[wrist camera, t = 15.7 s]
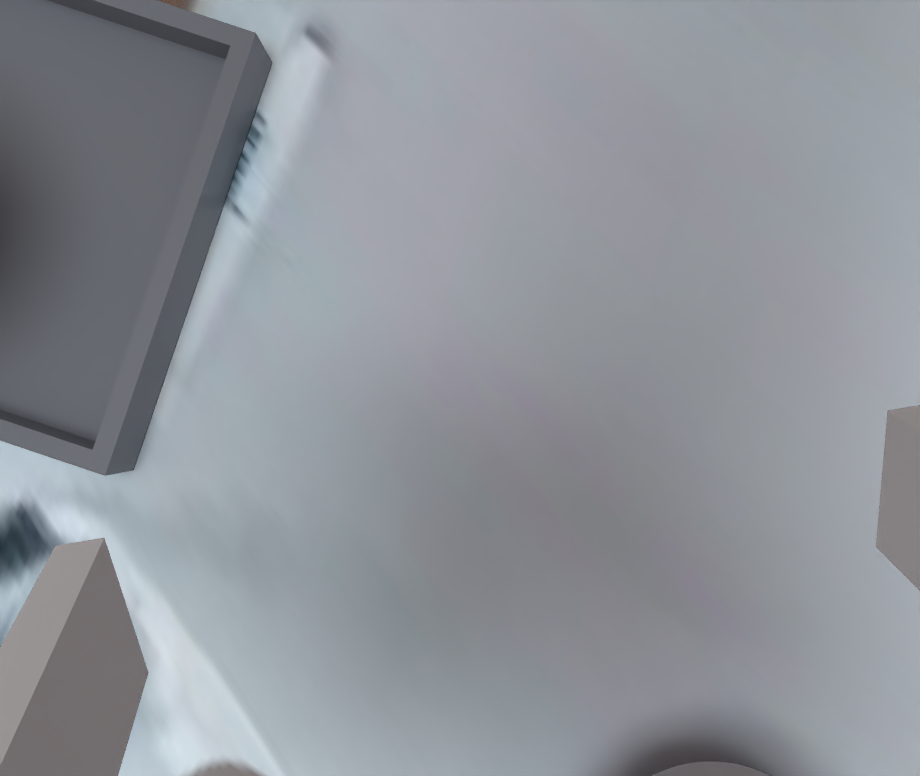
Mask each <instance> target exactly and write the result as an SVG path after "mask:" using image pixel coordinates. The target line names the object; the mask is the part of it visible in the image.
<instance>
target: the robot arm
mask: <svg viewBox="0 0 920 776" xmlns="http://www.w3.org/2000/svg"><path fill="white" fill-rule="evenodd" d="M876 547H877V548H878V549H879V550H880V551H881V552H882V553H883V554H884V555H885V556H886V557H887V558H888V559H889V560H890V561H891V562H892V563H893V564H894V565H895V566H896V567H897V568H898V569H899V570H900V571H901V572H902V573H903V574H904V575H905V576H906V577H907V578H908V579H909V580H910V581H911V582H912V583H913V584H914V585H915V586H916V587H917V588H918V589H919V590H920V405H919V406H913V407H907V408H900V409H894V410H888V414H887V425H886V437H885V448H884V460H883V471H882V483H881V494H880V506H879V517H878V529H877V540H876ZM147 676H148V670H147V667H146V664H145V661H144V658H143V655H142V651H141V648H140V645H139V642H138V639H137V636H136V633H135V630H134V627H133V624H132V621H131V618H130V615H129V612H128V609H127V606H126V603H125V600H124V597H123V594H122V590H121V587H120V584H119V581H118V578H117V575H116V572H115V569H114V566H113V563H112V560H111V557H110V554H109V551H108V548H107V545H106V542H105V539H104V538H101V539H94V540H88V541H82V542H76V543H70V544H64V545H58V546H55V548H54V550H53V552H52V553H51V555H50V557H49V559H48V561H47V563H46V564H45V566H44V568H43V570H42V572H41V574H40V576H39V577H38V579H37V581H36V583H35V585H34V587H33V588H32V590H31V592H30V594H29V596H28V598H27V600H26V601H25V603H24V605H23V607H22V609H21V611H20V612H19V614H18V616H17V618H16V620H15V622H14V624H13V625H12V627H11V629H10V631H9V633H8V635H7V636H6V638H5V640H4V642H3V644H2V646H1V648H0V776H118V774H119V770H120V767H121V763H122V760H123V757H124V753H125V750H126V747H127V743H128V740H129V736H130V733H131V730H132V726H133V723H134V720H135V716H136V713H137V709H138V706H139V703H140V699H141V696H142V693H143V689H144V686H145V682H146V679H147Z"/></svg>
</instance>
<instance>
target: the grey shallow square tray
mask: <svg viewBox="0 0 920 776" xmlns="http://www.w3.org/2000/svg"><path fill="white" fill-rule="evenodd" d="M271 64H272V61H271V59H270V58H269V56H268V54H267V52H266V50H265V49H264V47H263V45H262V43H261V41H260V40H259V38H258V36H257V34H256V33H254V32H251V31H248V30H245V29H242V28H239V27H236V26H233V25H230V24H227V23H224V22H221V21H218V20H215V19H212V18H209V17H206V16H203V15H200V14H197V13H194V12H191V11H187V10H184V9H181V8H178V7H175V6H172V5H169V4H166V3H163V2H160V1H157V0H0V440H1V441H4V442H7V443H10V444H13V445H16V446H19V447H22V448H25V449H28V450H31V451H34V452H37V453H39V454H42V455H45V456H48V457H51V458H54V459H57V460H60V461H63V462H66V463H69V464H72V465H75V466H78V467H81V468H84V469H87V470H90V471H93V472H96V473H99V474H102V475H110V474H116V473H121V472H126V471H131V470H134V467H135V464H136V461H137V458H138V455H139V452H140V449H141V446H142V443H143V440H144V437H145V434H146V431H147V428H148V426H149V423H150V420H151V417H152V414H153V411H154V408H155V405H156V402H157V399H158V396H159V393H160V390H161V387H162V384H163V381H164V379H165V376H166V373H167V370H168V367H169V364H170V361H171V358H172V355H173V352H174V349H175V346H176V343H177V340H178V337H179V334H180V332H181V329H182V326H183V323H184V320H185V317H186V314H187V311H188V308H189V305H190V302H191V299H192V296H193V293H194V290H195V287H196V285H197V282H198V279H199V276H200V273H201V270H202V267H203V264H204V261H205V258H206V255H207V252H208V249H209V246H210V243H211V240H212V238H213V235H214V232H215V229H216V226H217V223H218V220H219V217H220V214H221V211H222V208H223V205H224V202H225V199H226V196H227V193H228V191H229V188H230V185H231V182H232V179H233V176H234V173H235V170H236V167H237V164H238V161H239V158H240V155H241V152H242V149H243V146H244V144H245V141H246V138H247V135H248V132H249V129H250V126H251V123H252V120H253V117H254V114H255V111H256V108H257V105H258V102H259V99H260V97H261V94H262V91H263V88H264V85H265V82H266V79H267V76H268V73H269V70H270V67H271Z"/></svg>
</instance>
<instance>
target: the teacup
mask: <svg viewBox="0 0 920 776" xmlns="http://www.w3.org/2000/svg"><path fill="white" fill-rule="evenodd" d="M652 776H769V775H767V774H765V773H763V772H760V771H758V770H755V769H753V768H750V767H746V766H743V765H739V764H734V763H728V762H718V761H702V762H694V763H686V764H682V765H678V766H675V767H671V768H668V769H665V770H663V771H661V772H658V773H656V774H654V775H652Z"/></svg>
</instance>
